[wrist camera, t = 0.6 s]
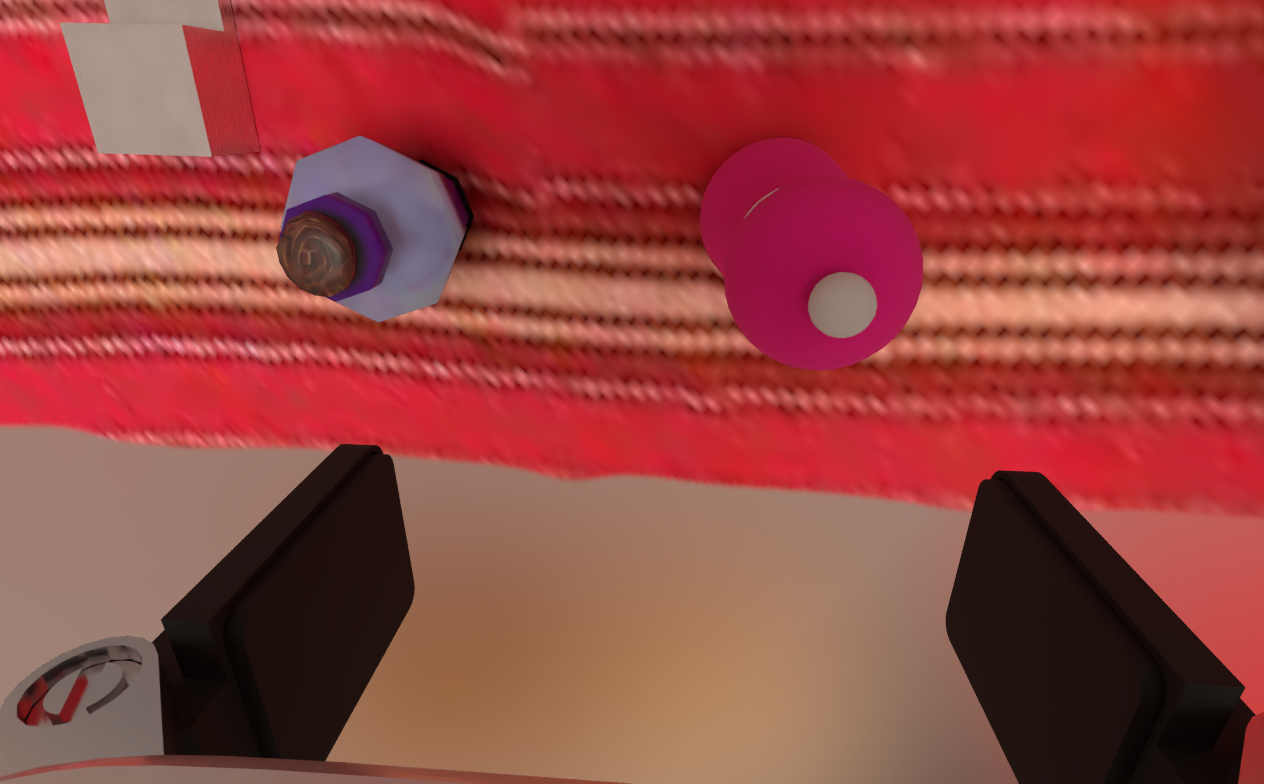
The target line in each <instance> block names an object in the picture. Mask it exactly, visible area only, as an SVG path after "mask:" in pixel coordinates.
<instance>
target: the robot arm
mask: <svg viewBox="0 0 1264 784" xmlns="http://www.w3.org/2000/svg"><path fill="white" fill-rule="evenodd" d="M414 589H415V587H414V578H413V573H412V568H411V561H410V555H409V550H408V544H407V538H406V532H405V527H404V521H403V515H402V510H401V504H400V498H399V492H398V486H397V481H396V475H395V469H394V464H393V460H392V458H391V456H389V455H386V454H383V452H382V450H381V448H380V447H378V446H377V445H354V444H341V445H340V446H338V447H337V448H336V449H335V450H334V451H333V452H332V453H331V454H330V455H329V456H328V457H327V458H326V459H325V460H324V461H323V462H322V463H320V464H319V466H317V467H316V468H315V470H313V471H312V472H311V473H310V474H309V475H308V476H307V477H306V478H305V479H304V480H303V481H302V482H301V483H300V484H299V485H298V486H297V487H296V488H295V489H294V490H293V491H292V492H291V493H290V494H289V495H288V496H287V497H286V498H285V499H284V500H283V501H282V502H281V503H280V504H279V505H278V506H277V507H276V508H275V509H273V511H271V512H270V513H269V514H268V516H266V517H265V518H264V519H263V520H262V521H261V522H260V523H259V524H258V525H257V526H256V527H255V528H254V529H253V530H252V531H251V532H250V533H249V534H248V535H247V536H246V537H245V538H244V539H243V540H242V541H241V542H240V543H239V544H238V545H237V546H236V547H235V548H234V549H233V550H232V551H231V552H230V553H228V555H226V557H224V558H223V559H222V560H221V561H220V562H219V563H218V564H217V565H216V566H215V567H214V568H213V569H212V570H211V571H210V572H209V573H208V574H207V575H206V576H205V577H204V578H203V579H202V580H201V581H200V582H199V583H198V584H197V585H196V586H195V587H194V588H193V589H192V590H191V591H190V592H189V593H188V594H187V595H186V596H185V597H184V598H183V599H182V600H180V601H179V602H178V603H177V604H176V605H175V606H174V607H173V608H172V609H171V610H170V611H169V612H168V613H167V614H166V615H165V616H164V617H163V618H162V619H161V621H162V624H163V626H164V629H165V630H164V631H163V632H162V633H161V634H160V635H159V636H158V637H157V638H156V639H155V640H154V641H153V642H152V643H151V642H149V641H147V640H146V639H144V638H140V637H133V636H120V637H111V638H105V639H101V640H98V641H94V642H91V643H87V644H84V645H81V646H79V647H77V648H74V649H72V650H70V651H68V652H65V653H63V654H61V655H59V656H57V657H56V658H54V659H52V660H50V661H49V662H47V663H45V664H44V665H42V666H41V667H39V668H37V669H36V670H35V671H34V672H32V673H31V674H30V675H29V676H27V677H26V678H25V679H24V680H22V681H21V682H20V683H19V684H18V685H17V686H16V687H15V688H14V690H13V691H12V692H11V693H10V694H9V695H8V696H7V697H6V699H5V700H4V702H3V705H2V707H1V709H0V784H631V783H618V782H603V781H592V780H578V779H566V778H553V777H552V778H551V777H539V776H526V775H511V774H498V773H484V772H471V771H456V770H443V769H429V768H415V767H401V766H387V765H373V764H359V763H345V762H327V761H325V760H326V759H327V757H328V755H329V753H330V751H331V749H332V748H333V746H334V744H335V742H336V740H337V739H338V737H339V735H340V733H341V731H342V730H343V728H344V726H345V724H346V722H347V721H348V719H349V717H350V715H351V713H352V712H353V710H354V708H355V706H356V704H357V703H358V701H359V699H360V697H361V695H362V694H363V692H364V690H365V688H366V686H367V684H368V683H369V681H370V679H371V677H372V675H373V674H374V672H375V670H376V668H377V666H378V665H379V663H380V661H381V659H382V657H383V656H384V654H385V652H386V650H387V648H388V646H389V645H390V643H391V641H392V639H393V637H394V636H395V634H396V632H397V630H398V628H399V627H400V625H401V623H402V621H403V619H404V618H405V616H406V614H407V612H408V610H409V609H410V606H411V604H412V601H413V597H414ZM946 629H947V634H948V637H949V640H950V642H951V644H952V646H953V648H954V650H955V652H956V654H957V656H958V659H959V661H960V663H961V665H962V667H963V669H964V671H965V673H966V675H967V677H968V679H969V681H970V683H971V685H972V688H973V690H974V692H975V694H976V696H977V698H978V700H979V702H980V704H981V706H982V708H983V710H984V712H985V714H986V717H987V718H988V720H989V723H990V725H991V727H992V729H993V731H994V733H995V735H996V737H997V739H998V741H999V743H1000V745H1001V748H1002V750H1003V752H1004V754H1005V756H1006V758H1007V760H1008V762H1009V764H1010V766H1011V768H1012V770H1013V772H1014V774H1015V777H1016V778H1017V781H1018V783H1019V784H1264V712H1263V713H1260V714H1258V715H1255V714H1254V713H1253V712H1252V711H1251V709H1250V708H1249V707H1248V706H1247V705H1246V704H1245V703H1244V702H1243V701H1242V700H1241V699H1240V696H1241V695H1242V693H1243V691H1244V689H1245V687H1244V686H1243V685H1242V683H1241V682H1239V680H1238V679H1237V678H1236V677H1235V676H1234V675H1233V674H1232V673H1231V672H1230V671H1229V670H1228V669H1227V668H1226V667H1225V666H1224V665H1223V664H1222V662H1221V661H1220V660H1219V659H1218V658H1217V657H1216V656H1215V655H1214V654H1213V653H1212V652H1211V651H1210V650H1209V649H1208V648H1207V647H1206V646H1205V644H1203V642H1202V641H1201V640H1200V639H1199V638H1198V637H1197V636H1196V635H1195V634H1194V633H1193V632H1192V631H1191V630H1190V629H1189V628H1188V627H1187V625H1186V624H1184V622H1183V621H1182V620H1181V619H1180V618H1179V617H1178V616H1177V615H1176V614H1175V613H1174V612H1173V611H1172V610H1171V609H1170V608H1169V607H1168V605H1166V603H1164V601H1163V600H1162V599H1161V598H1160V597H1159V596H1158V595H1157V594H1156V593H1155V592H1154V591H1153V590H1152V589H1151V588H1150V587H1149V586H1148V584H1147V583H1146V582H1145V581H1144V580H1143V579H1142V578H1141V577H1140V576H1139V575H1138V574H1137V573H1136V572H1135V571H1134V570H1133V569H1132V568H1131V567H1130V565H1128V563H1127V562H1126V561H1125V560H1124V559H1123V558H1122V557H1121V556H1120V555H1119V554H1118V553H1117V552H1116V551H1115V550H1114V549H1113V548H1112V546H1111V545H1110V544H1108V542H1107V541H1106V540H1105V539H1104V538H1103V537H1102V536H1101V535H1100V534H1099V533H1098V532H1097V531H1096V530H1095V529H1094V528H1093V527H1092V525H1091V524H1090V523H1089V522H1088V521H1087V520H1086V519H1085V518H1084V517H1083V516H1082V515H1081V514H1080V513H1079V512H1078V511H1077V510H1076V509H1075V508H1074V506H1073V505H1072V504H1071V503H1070V502H1069V501H1068V500H1067V499H1066V498H1065V497H1064V496H1063V495H1062V494H1061V493H1060V492H1059V491H1058V490H1057V489H1056V487H1055V486H1054V485H1053V484H1052V483H1051V482H1050V481H1049V480H1048V479H1047V478H1046V477H1045V476H1044V475H1042V474H1041V473H1039V472H1023V471H997V472H995V473H994V475H993V476H992V477H991V480H990V479H985V480H983V481H982V482H981V483H980V486H979V488H978V492H977V496H976V500H975V504H974V507H973V511H972V515H971V519H970V523H969V527H968V531H967V535H966V539H965V543H964V546H963V550H962V554H961V558H960V562H959V566H958V570H957V574H956V578H955V582H954V586H953V589H952V593H951V597H950V601H949V605H948V609H947V613H946Z"/></svg>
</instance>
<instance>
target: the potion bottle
mask: <svg viewBox="0 0 1264 784" xmlns="http://www.w3.org/2000/svg"><path fill="white" fill-rule="evenodd" d="M472 219H473V214H472V211H471V209H470V207H469V204H468V202H467V200H466V197H465V195H464V192H463V190H462V188H461V185H460V183H459V181H458V178H456V177H454V176H452V175H450V174H448V173H446V172H444V171H442V170H440V169H438V168H436V167H435V166H433V165H431V164H429V163H427V162H425V161H423V160H419V161H416V160H414V159H412V158H410V157H408V156H406V155H404V154H402V153H400V152H398V151H396V150H394V149H392V148H390V147H388V146H385V145H382V144H380V143H377V142H375V141H372V140H370V139H367V138H365V137H362V136H357V137H355V138H352V139H350V140H347V141H345V142H342V143H340V144H337V145H335V146H332V147H330V148H327V149H325V150H322V151H320V152H317V153H315V154H312V155H310V156H307V157H305V158H303V159H300V160H298V161H297V162H296V166H295V170H294V174H293V178H292V182H291V187H290V191H289V195H288V199H287V203H286V207H285V211H284V215H283V219H282V223H281V229H282V231H281V235H280V239H279V243H278V245H277V247H276V249H277V253H278V258H279V262H280V264H281V266H282V268H283V270H284V271H285V273H286V275H287V277H288V278H289V279H290V280H291V281H292V282H293V283H294V284H295V285H297V286H298V287H299V288H300V289H302V290H304V291H306V292H309V293H311V294H313V295H317V296H324V297H326V298H328V299H330V300H332V301H335V302H337V303H339V304H341V305H343V306H345V307H347V308H349V309H351V310H354V311H356V312H358V313H360V314H362V315H364V316H366V317H368V318H370V319H373V320H375V321H377V322H381V321H384V320H387V319H390V318H393V317H396V316H399V315H402V314H405V313H408V312H411V311H414V310H417V309H420V308H423V307H426V306H429V305H432V304H435V303H438V301H439V298H440V296H441V294H442V292H443V289H444V287H445V285H446V283H447V280H448V278H449V275H450V273H451V270H452V267H453V264H454V262H455V259H456V256H457V254H458V251H461V249H462V246H463V243H464V241H465V238H466V235H467V233H468V230H469V227H470V225H471V222H472Z"/></svg>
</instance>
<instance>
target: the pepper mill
mask: <svg viewBox="0 0 1264 784" xmlns="http://www.w3.org/2000/svg"><path fill="white" fill-rule="evenodd" d="M700 232H701V236H702V240H703V244H704V247H705V249H706V251H707V253H708V255H709V257H710V259H711V260H712V262H713V263H714V265H715V266H716V267H717V268H718V270H719V271H720V272H721V273H722V274H723V276H724V285H725V295H726V299H727V303H728V307H729V309H730V312H731V314H732V316H733V318H734V321H735V322H736V324H737V326H738V327H739V329H740V331H741V332H742V333H743V334H744V335H745V337H746V338H747V339H748V340H749V341H750V342H751V343H752V344H753V345H754V346H755V347H756V348H757V349H759V350H760V351H761V352H763V353H764V354H766V355H767V356H769V357H771V358H773V359H774V360H776V361H778V362H780V363H782V364H785V365H788V366H792V367H796V368H800V369H809V370H831V369H838V368H842V367H846V366H850V365H853V364H855V363H857V362H859V361H861V360H863V359H865V358H868V357H869V356H871V355H873V354H874V353H876V352H877V351H879V350H880V349H882V348H883V347H885V346H886V345H887V344H888V343H889V342H890V341H891V340H893V339H894V338H895V337H896V336H897V334H898V333H899V332H900V331H901V329H902V328H903V327H904V326H905V324H906V323H907V321H908V319H909V317H910V316H911V314H912V312H913V310H914V308H915V306H916V304H917V301H918V298H919V294H920V291H921V287H922V279H923V257H922V251H921V247H920V243H919V240H918V237H917V235H916V233H915V230H914V228H913V225H912V223H911V222H910V220H909V218H908V217H907V216H906V214H905V213H904V212H903V211H902V210H901V209H900V207H899V206H898V205H897V204H896V203H895V202H894V201H893V200H891V199H890V198H889V197H888V196H886V195H885V194H884V193H882V192H881V191H879V190H878V189H876V188H874V187H872V186H870V185H867V184H865V183H863V182H860V181H858V180H855V179H851V178H847V176H846V174H845V173H844V171H843V170H842V169H841V167H840V166H839V165H838V163H837V162H836V161H835V160H834V159H833V158H832V157H831V156H830V155H828V154H827V153H826V152H825V151H824V150H822V149H820V148H819V147H817V146H815V145H814V144H812V143H809V142H806V141H803V140H800V139H795V138H789V137H775V138H769V139H763V140H760V141H757V142H754V143H751V144H749V145H747V146H745V147H743V148H741V149H740V150H738V151H737V152H736V153H734V154H733V155H731V156H730V157H729V158H728V159H727V160H726V161H725V162H724V163H723V164H722V165H721V166H720V167H719V168H718V170H717V171H716V172H715V174H714V175H713V176H712V178H711V180H710V182H709V184H708V186H707V188H706V191H705V194H704V197H703V200H702V203H701V211H700Z"/></svg>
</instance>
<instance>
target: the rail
mask: <svg viewBox="0 0 1264 784" xmlns="http://www.w3.org/2000/svg"><path fill="white" fill-rule="evenodd" d="M104 2H105V5H106V9H107V13H108V17H109V20H110V24H108V23H60V25H61V28H62V31H63V35H64V38H65V42H66V45H67V48H68V52H69V55H70V59H71V62H72V65H73V69H74V72H75V76H76V79H77V82H78V86H79V89H80V93H81V96H82V99H83V103H84V106H85V110H86V113H87V116H88V120H89V123H90V127H91V130H92V133H93V137H94V140H95V144H96V147H97V150H98V153H109V154H142V155H175V156H208V157H213V156H222V155H232V154H241V153H250V152H260V148H259V143H258V138H257V133H256V128H255V122H254V117H253V112H252V107H251V102H250V97H249V92H248V87H247V82H246V77H245V72H244V67H243V62H242V57H241V52H240V47H239V42H238V37H237V32H236V27H235V22H234V17H233V12H232V7H231V2H230V0H104Z"/></svg>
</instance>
